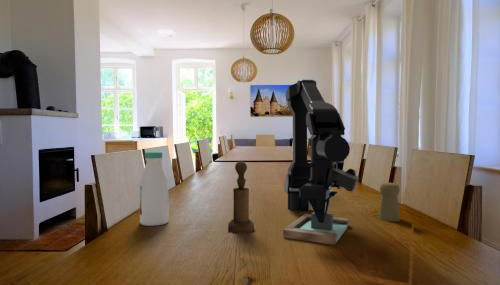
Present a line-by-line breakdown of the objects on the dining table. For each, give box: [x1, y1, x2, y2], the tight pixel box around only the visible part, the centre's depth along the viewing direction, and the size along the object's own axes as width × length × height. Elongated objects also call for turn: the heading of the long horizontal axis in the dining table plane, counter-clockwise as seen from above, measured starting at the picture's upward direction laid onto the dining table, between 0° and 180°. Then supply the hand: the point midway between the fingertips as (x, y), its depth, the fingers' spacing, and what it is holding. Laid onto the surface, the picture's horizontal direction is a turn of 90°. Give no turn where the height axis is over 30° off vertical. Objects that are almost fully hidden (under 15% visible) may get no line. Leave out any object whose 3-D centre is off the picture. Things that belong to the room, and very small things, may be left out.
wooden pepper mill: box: [227, 161, 255, 234], centre depth 85 cm, size 7×6×18 cm
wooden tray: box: [282, 213, 350, 246], centre depth 84 cm, size 12×17×3 cm
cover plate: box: [299, 211, 349, 243], centre depth 83 cm, size 10×13×4 cm
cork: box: [378, 182, 401, 222], centre depth 96 cm, size 6×6×11 cm
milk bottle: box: [139, 151, 170, 227], centre depth 94 cm, size 8×8×20 cm
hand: (322, 221), depth 83 cm, fingers closed on cover plate, 2 cm apart
